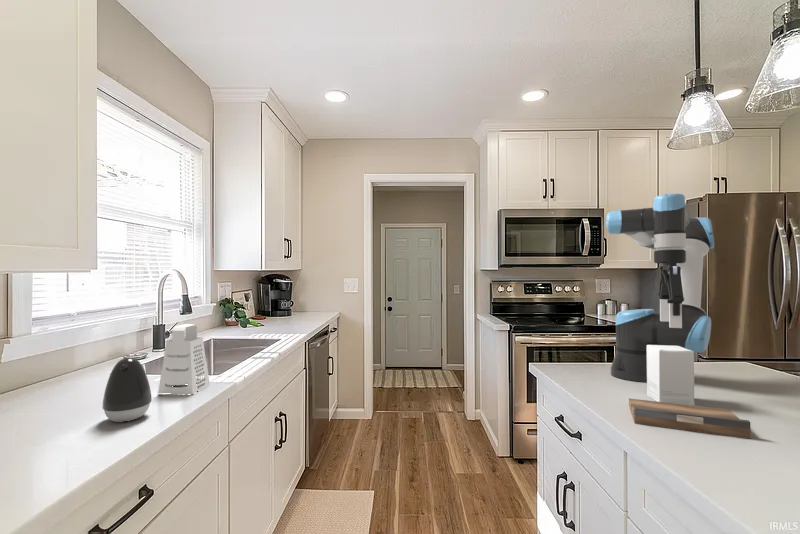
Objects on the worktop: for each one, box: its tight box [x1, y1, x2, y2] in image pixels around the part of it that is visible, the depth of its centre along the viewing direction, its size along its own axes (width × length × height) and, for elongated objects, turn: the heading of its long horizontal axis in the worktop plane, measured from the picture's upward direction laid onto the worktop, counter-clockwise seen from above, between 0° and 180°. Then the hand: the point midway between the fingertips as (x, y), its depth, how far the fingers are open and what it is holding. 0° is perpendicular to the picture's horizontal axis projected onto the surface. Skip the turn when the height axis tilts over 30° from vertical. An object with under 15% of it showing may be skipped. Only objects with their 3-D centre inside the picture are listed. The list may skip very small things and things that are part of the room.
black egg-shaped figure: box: [101, 357, 152, 423], centre depth 102 cm, size 10×10×15 cm
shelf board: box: [628, 397, 751, 439], centre depth 100 cm, size 14×22×4 cm, turn 66°
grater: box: [157, 323, 211, 395], centre depth 127 cm, size 10×10×20 cm
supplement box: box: [646, 345, 695, 406], centre depth 115 cm, size 9×9×15 cm
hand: (670, 324), depth 115 cm, fingers open, 13 cm apart
